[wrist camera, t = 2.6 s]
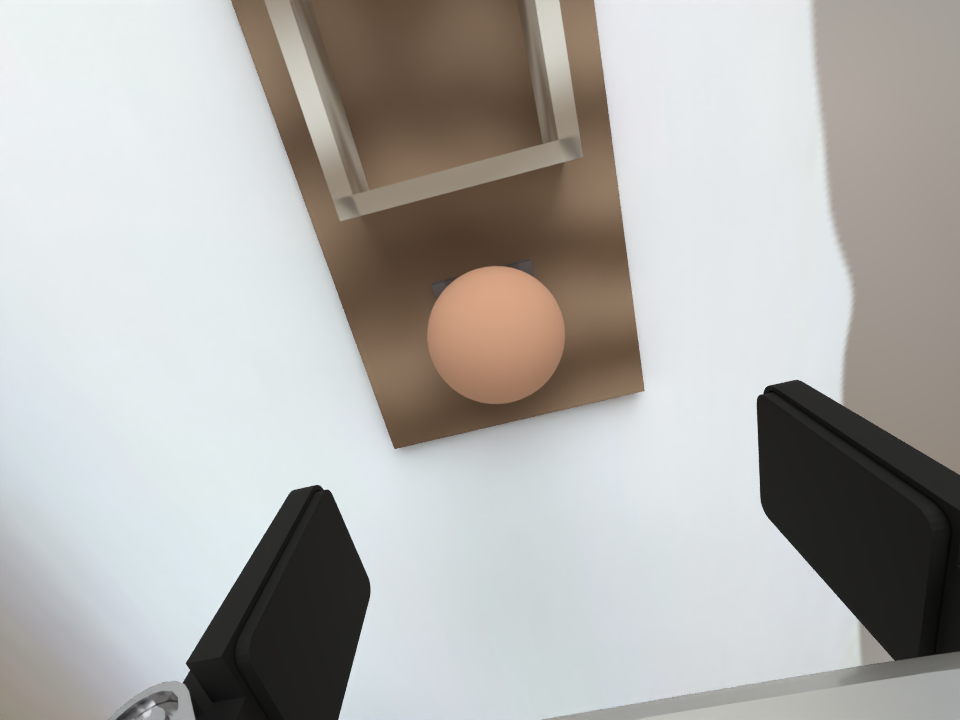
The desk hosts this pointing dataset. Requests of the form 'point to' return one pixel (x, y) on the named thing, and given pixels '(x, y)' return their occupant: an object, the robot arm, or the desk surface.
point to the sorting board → (454, 182)
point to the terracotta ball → (496, 335)
